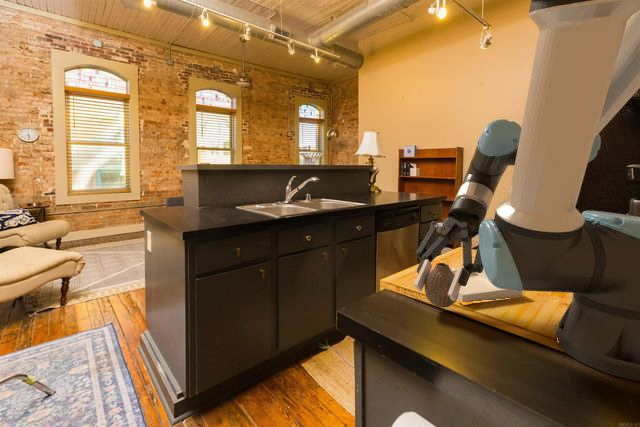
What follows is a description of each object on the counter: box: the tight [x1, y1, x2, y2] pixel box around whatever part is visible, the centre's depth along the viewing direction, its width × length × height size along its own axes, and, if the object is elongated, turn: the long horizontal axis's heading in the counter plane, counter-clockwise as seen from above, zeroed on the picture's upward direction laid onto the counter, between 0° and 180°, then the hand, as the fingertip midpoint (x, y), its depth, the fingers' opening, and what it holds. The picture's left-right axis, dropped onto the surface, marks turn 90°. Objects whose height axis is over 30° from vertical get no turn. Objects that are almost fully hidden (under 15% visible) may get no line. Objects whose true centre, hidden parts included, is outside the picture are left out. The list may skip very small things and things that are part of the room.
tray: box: [430, 267, 523, 302], centre depth 81 cm, size 16×16×2 cm
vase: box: [424, 262, 459, 308], centre depth 69 cm, size 7×7×9 cm
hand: (433, 292), depth 67 cm, fingers closed on vase, 7 cm apart
